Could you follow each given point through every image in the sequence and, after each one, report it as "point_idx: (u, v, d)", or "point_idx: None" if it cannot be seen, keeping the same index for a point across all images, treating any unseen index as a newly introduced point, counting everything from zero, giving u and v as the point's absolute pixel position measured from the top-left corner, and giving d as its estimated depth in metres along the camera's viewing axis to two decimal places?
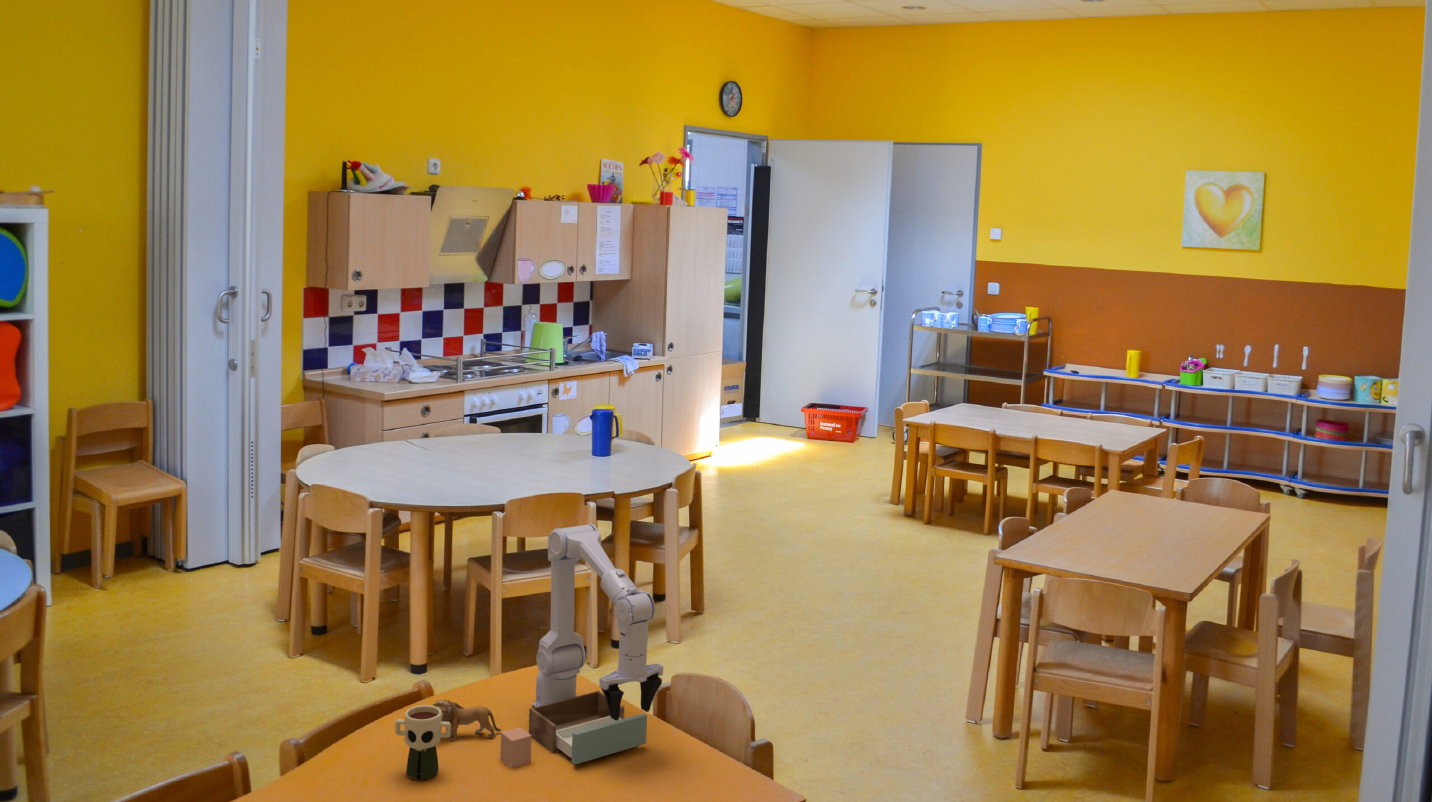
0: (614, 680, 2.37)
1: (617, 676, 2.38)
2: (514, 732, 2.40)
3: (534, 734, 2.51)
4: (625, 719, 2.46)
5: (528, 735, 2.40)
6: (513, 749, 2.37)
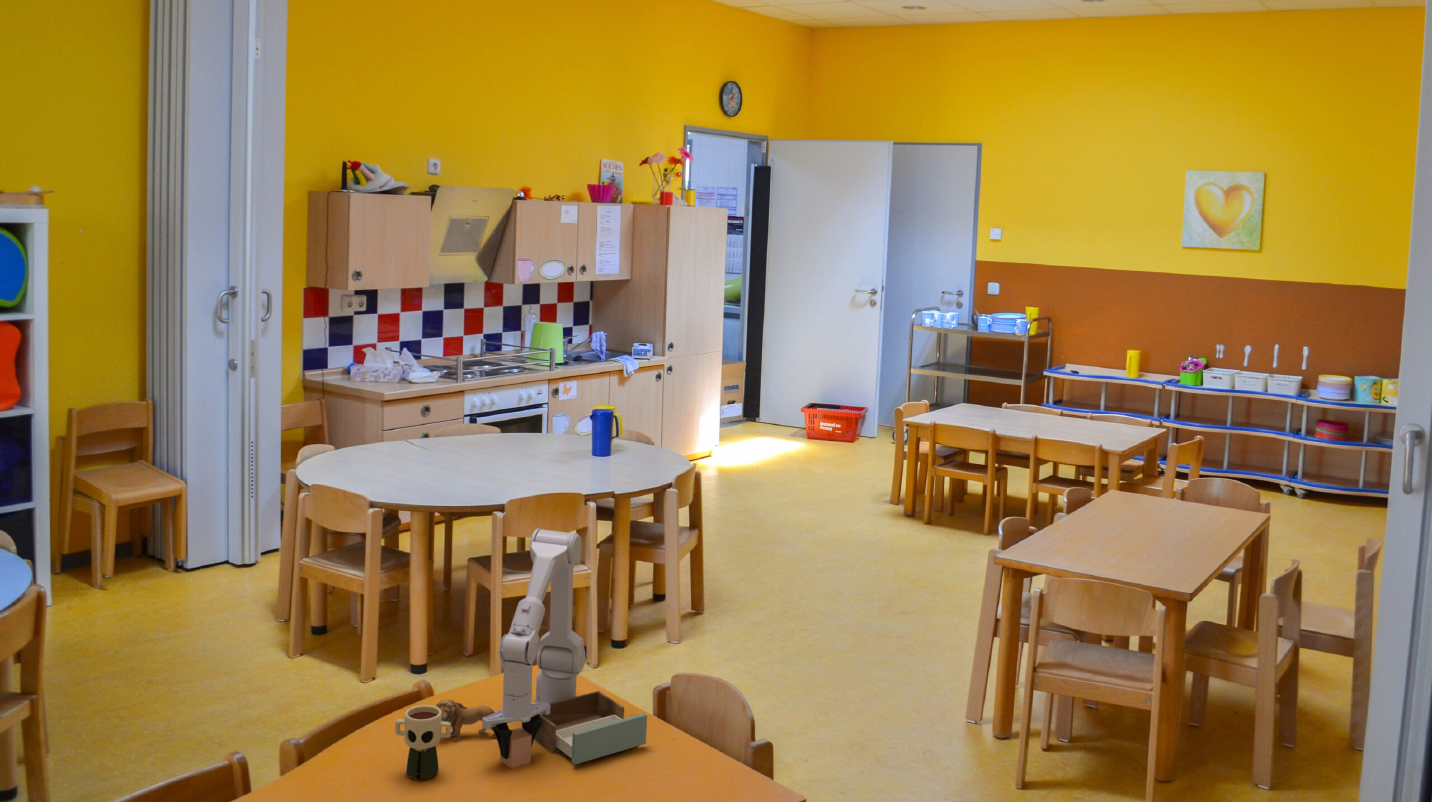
0: (497, 720, 2.35)
1: (501, 716, 2.37)
2: (514, 732, 2.40)
3: None
4: (625, 719, 2.46)
5: (528, 735, 2.40)
6: (513, 749, 2.37)
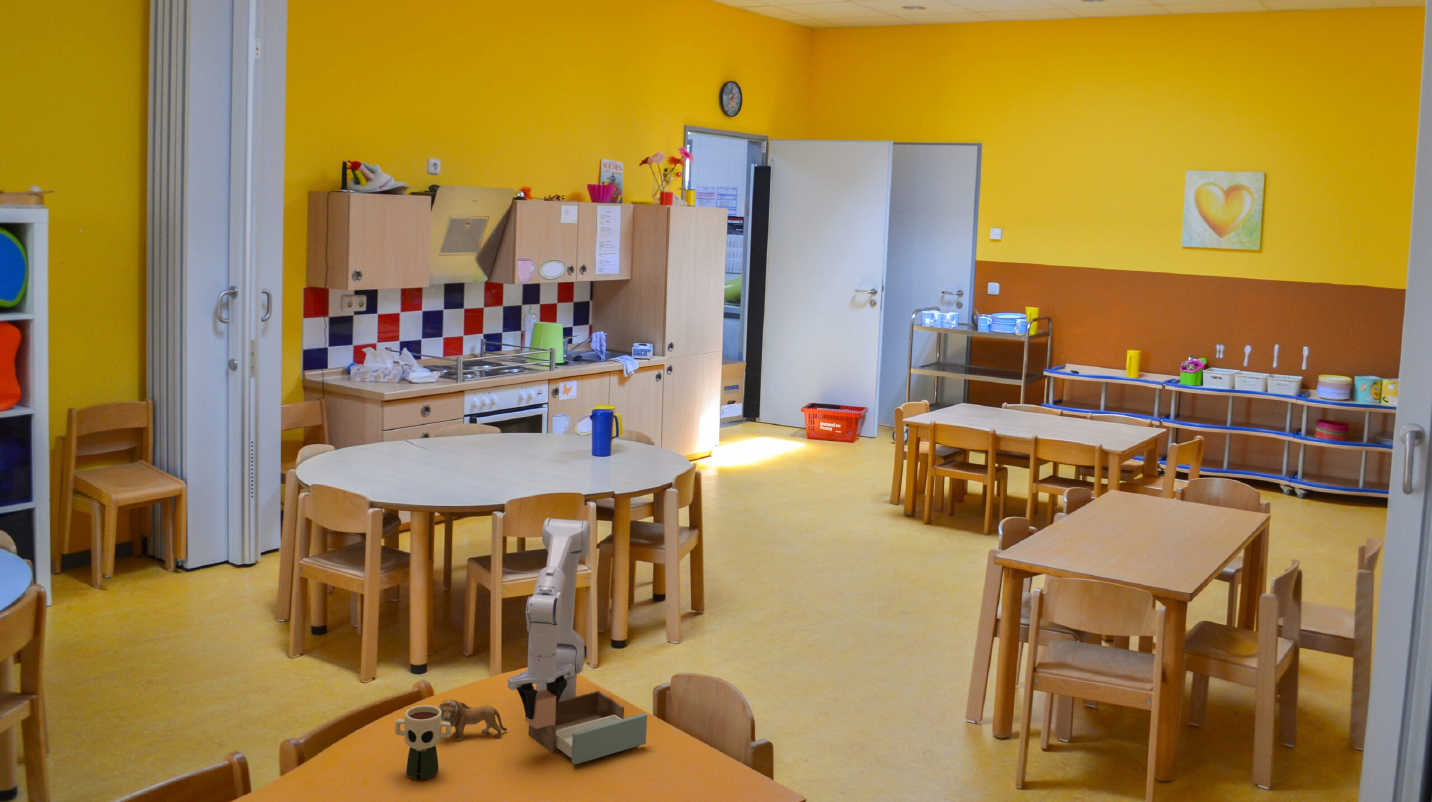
0: (522, 680, 2.36)
1: (526, 676, 2.38)
2: (539, 693, 2.42)
3: (534, 734, 2.51)
4: (625, 719, 2.46)
5: (552, 696, 2.41)
6: (538, 709, 2.39)
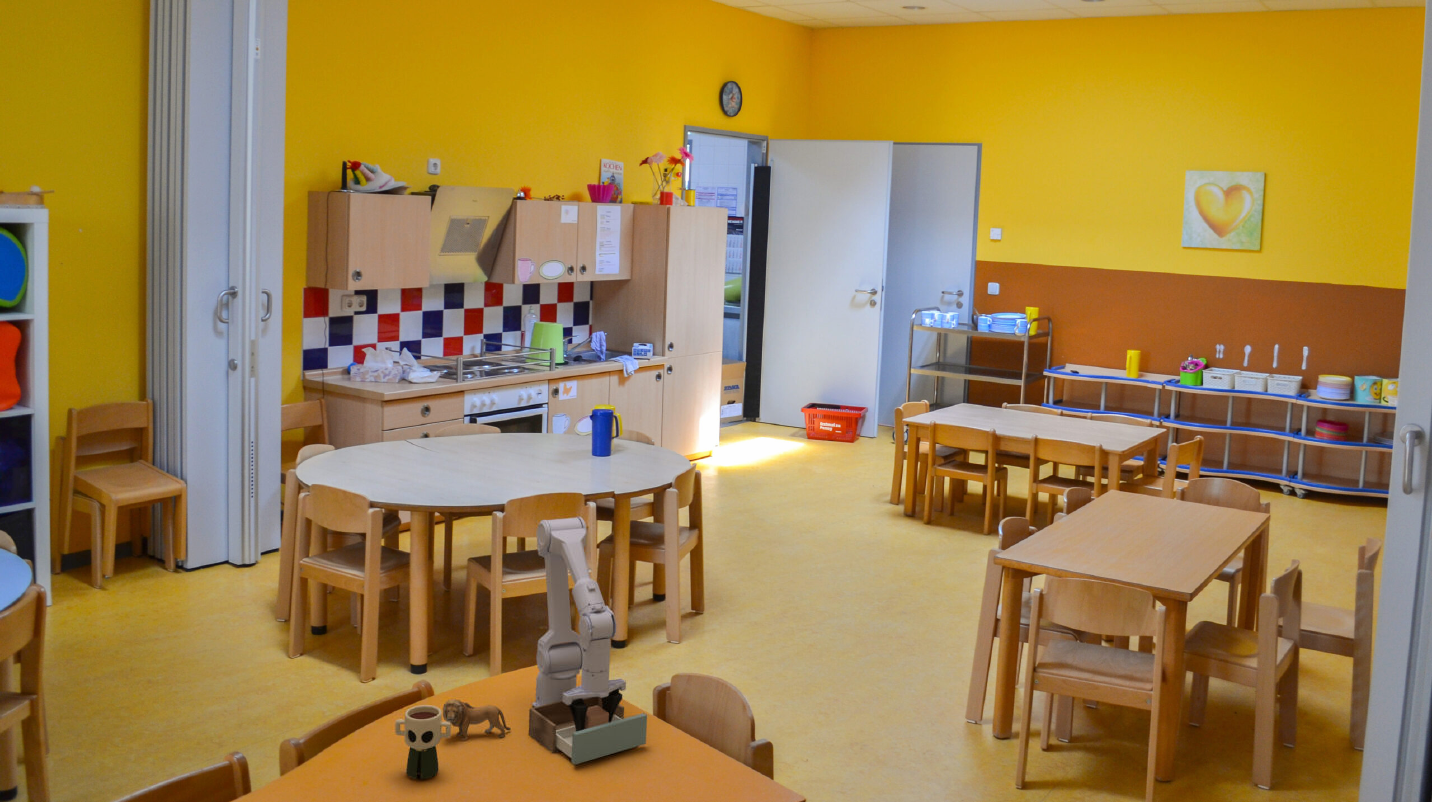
0: (577, 695, 2.43)
1: (580, 691, 2.45)
2: (592, 709, 2.49)
3: (534, 734, 2.51)
4: (625, 719, 2.46)
5: (605, 712, 2.48)
6: (592, 726, 2.46)
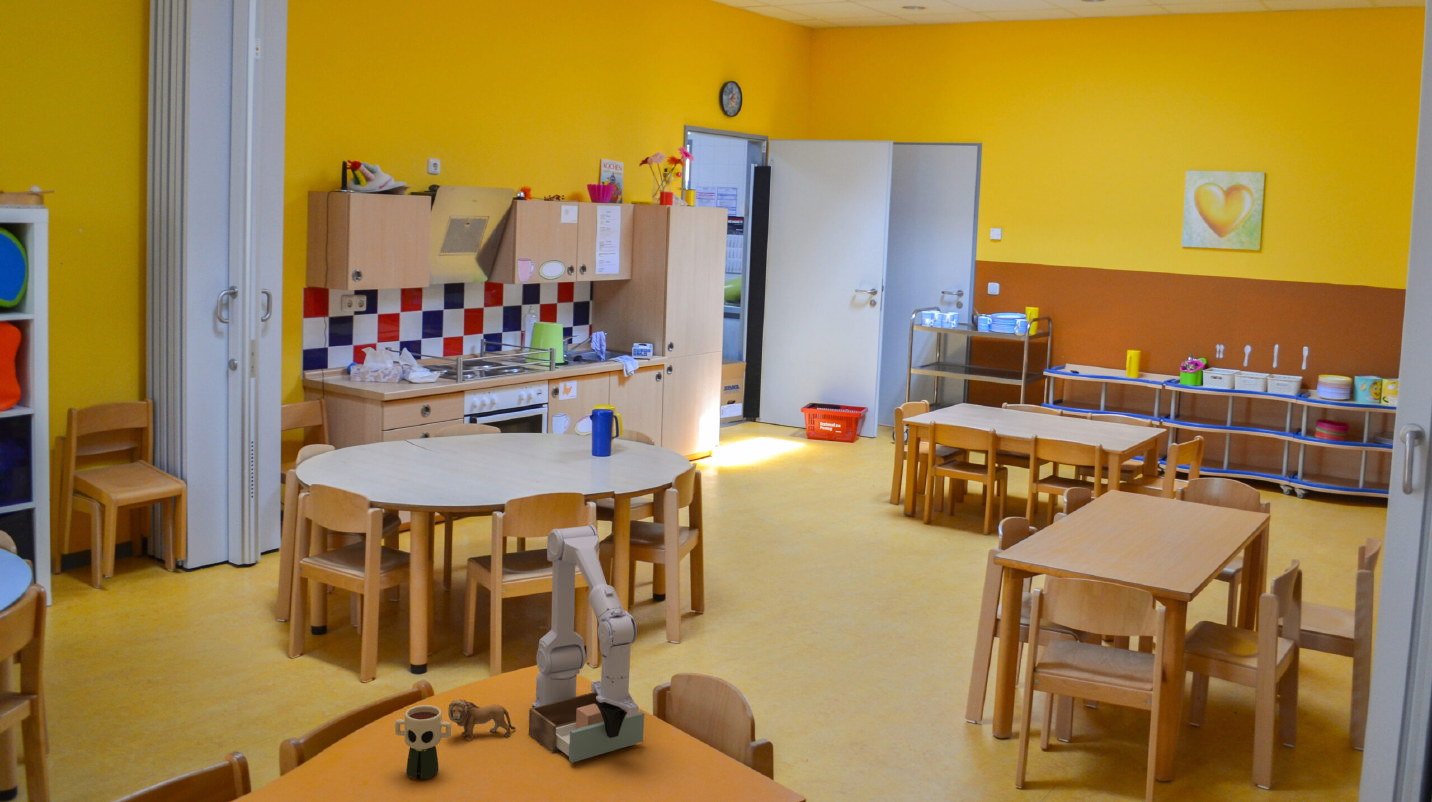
0: (595, 687, 2.45)
1: None
2: (589, 708, 2.50)
3: (534, 734, 2.51)
4: None
5: None
6: (589, 724, 2.47)
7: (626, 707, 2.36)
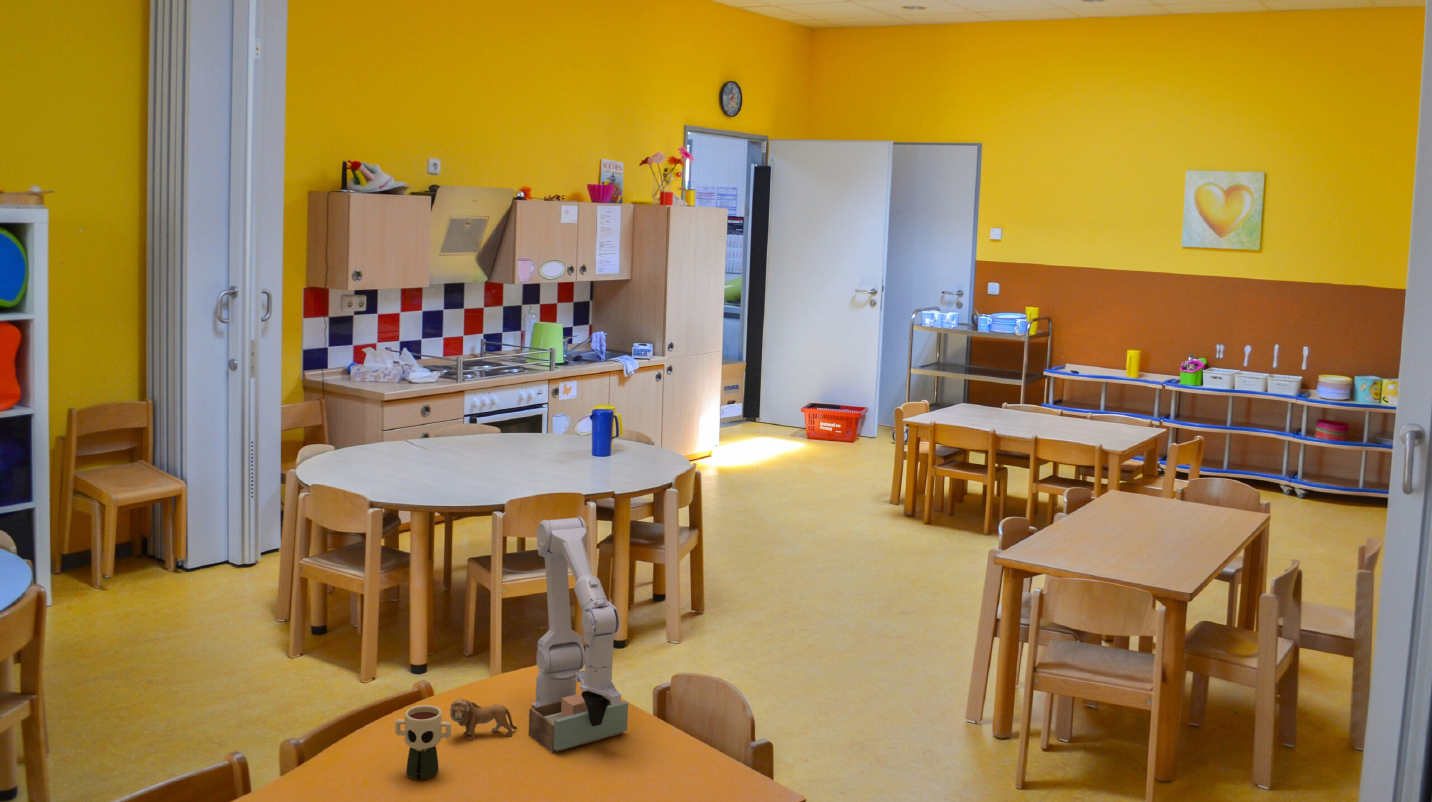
0: (579, 676, 2.49)
1: None
2: (574, 698, 2.54)
3: (534, 734, 2.51)
4: None
5: None
6: None
7: (609, 696, 2.41)
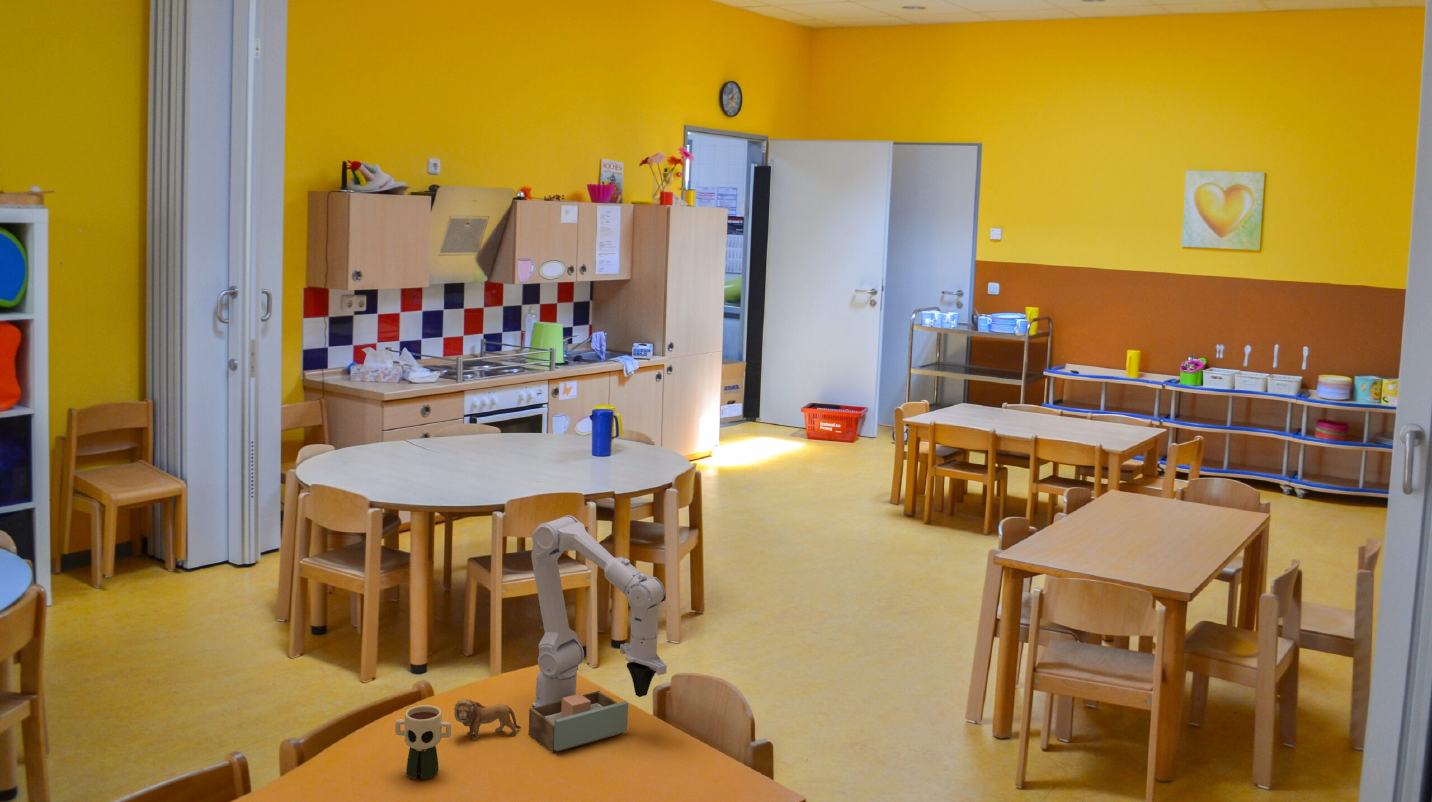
0: (624, 648, 2.55)
1: None
2: (574, 698, 2.54)
3: (534, 734, 2.51)
4: (607, 707, 2.51)
5: (587, 700, 2.53)
6: (574, 714, 2.51)
7: (655, 666, 2.47)
